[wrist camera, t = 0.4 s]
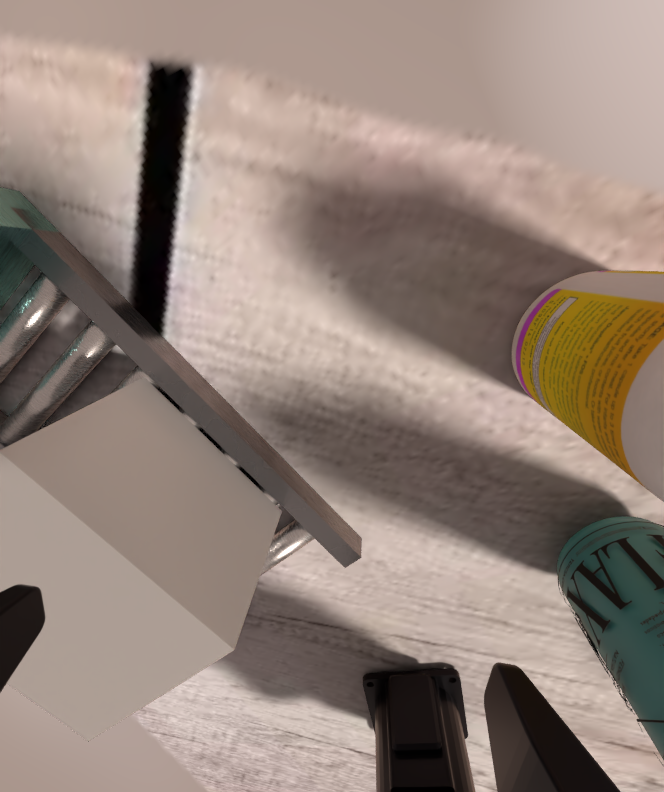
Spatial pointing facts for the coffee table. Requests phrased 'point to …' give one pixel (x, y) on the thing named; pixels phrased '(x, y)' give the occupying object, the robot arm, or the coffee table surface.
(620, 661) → the beverage bottle
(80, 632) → the off-white matte cube
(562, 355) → the supplement bottle
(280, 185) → the coffee table surface
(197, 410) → the roller bed
